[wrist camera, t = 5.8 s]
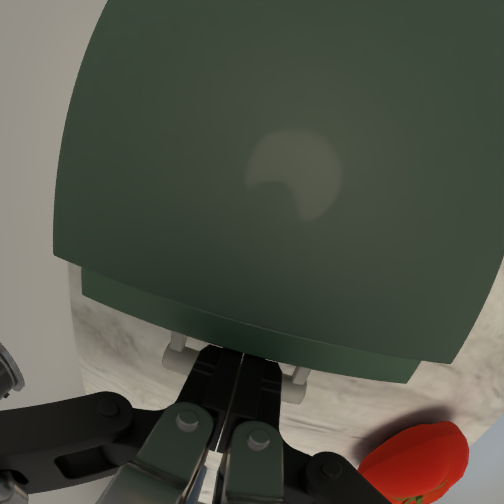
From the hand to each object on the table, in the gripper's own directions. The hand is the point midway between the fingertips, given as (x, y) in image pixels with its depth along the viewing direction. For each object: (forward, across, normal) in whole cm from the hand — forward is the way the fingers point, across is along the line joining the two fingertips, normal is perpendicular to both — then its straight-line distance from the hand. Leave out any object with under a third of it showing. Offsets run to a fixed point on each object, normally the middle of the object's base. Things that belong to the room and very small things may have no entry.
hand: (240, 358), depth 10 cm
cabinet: (+8, 0, -10) cm, 13 cm away
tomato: (+8, -20, +15) cm, 26 cm away
